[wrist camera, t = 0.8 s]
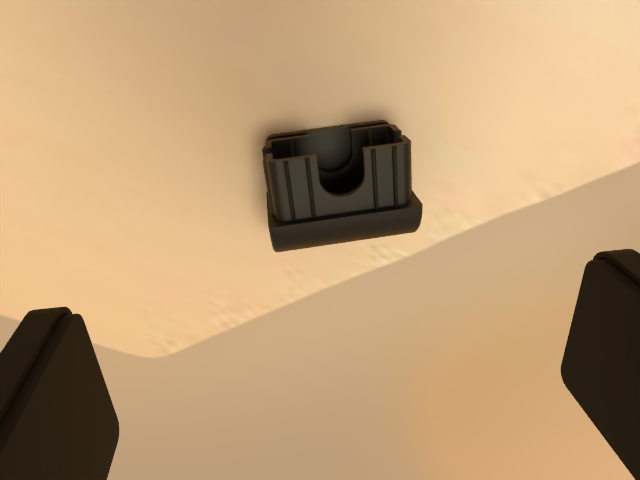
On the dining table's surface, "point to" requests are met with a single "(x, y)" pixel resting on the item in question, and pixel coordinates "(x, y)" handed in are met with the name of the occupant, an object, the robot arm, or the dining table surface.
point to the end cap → (339, 185)
